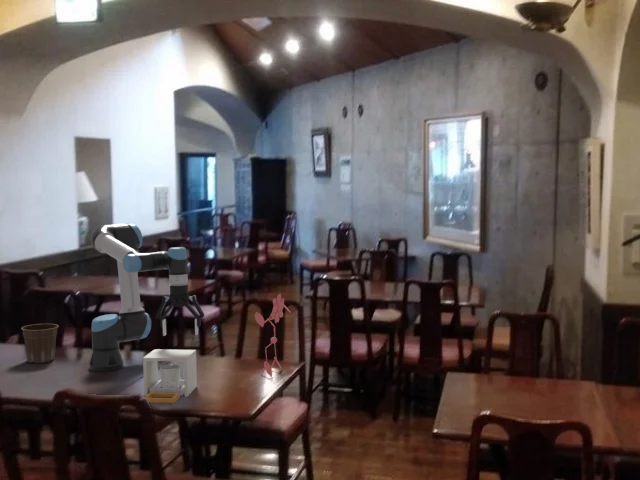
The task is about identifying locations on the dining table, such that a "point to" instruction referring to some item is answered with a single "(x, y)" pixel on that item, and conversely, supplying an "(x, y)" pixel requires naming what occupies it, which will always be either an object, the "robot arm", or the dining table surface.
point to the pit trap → (162, 397)
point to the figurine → (275, 314)
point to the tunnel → (170, 355)
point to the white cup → (170, 376)
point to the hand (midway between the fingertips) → (180, 335)
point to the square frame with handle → (171, 390)
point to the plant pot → (40, 342)
